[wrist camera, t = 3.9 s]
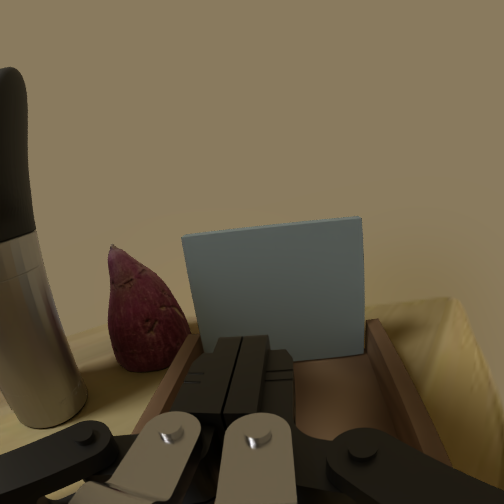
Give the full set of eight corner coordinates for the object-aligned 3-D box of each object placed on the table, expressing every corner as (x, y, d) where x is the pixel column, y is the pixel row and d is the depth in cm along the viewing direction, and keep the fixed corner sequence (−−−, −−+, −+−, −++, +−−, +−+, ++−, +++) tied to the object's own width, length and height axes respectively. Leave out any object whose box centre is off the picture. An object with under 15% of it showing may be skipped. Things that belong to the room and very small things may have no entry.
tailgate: (207, 365, 28) (181, 237, 26) (212, 351, 31) (189, 231, 28) (363, 353, 27) (361, 218, 24) (358, 340, 29) (354, 213, 26)
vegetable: (113, 381, 35) (51, 277, 32) (160, 337, 44) (109, 244, 40) (165, 387, 30) (88, 257, 26) (214, 331, 38) (157, 220, 35)
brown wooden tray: (136, 525, 13) (102, 484, 12) (199, 376, 30) (188, 334, 29) (430, 519, 11) (456, 475, 9) (375, 363, 28) (378, 318, 27)
